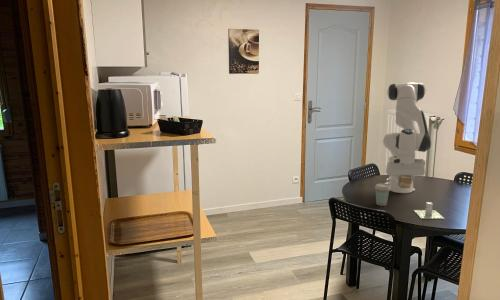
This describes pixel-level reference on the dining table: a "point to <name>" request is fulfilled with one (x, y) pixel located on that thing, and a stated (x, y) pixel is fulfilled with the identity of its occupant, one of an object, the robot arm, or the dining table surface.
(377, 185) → the coffee cup
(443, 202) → the dining table surface
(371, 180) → the dining table surface
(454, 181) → the dining table surface
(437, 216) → the post
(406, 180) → the wood grain block
